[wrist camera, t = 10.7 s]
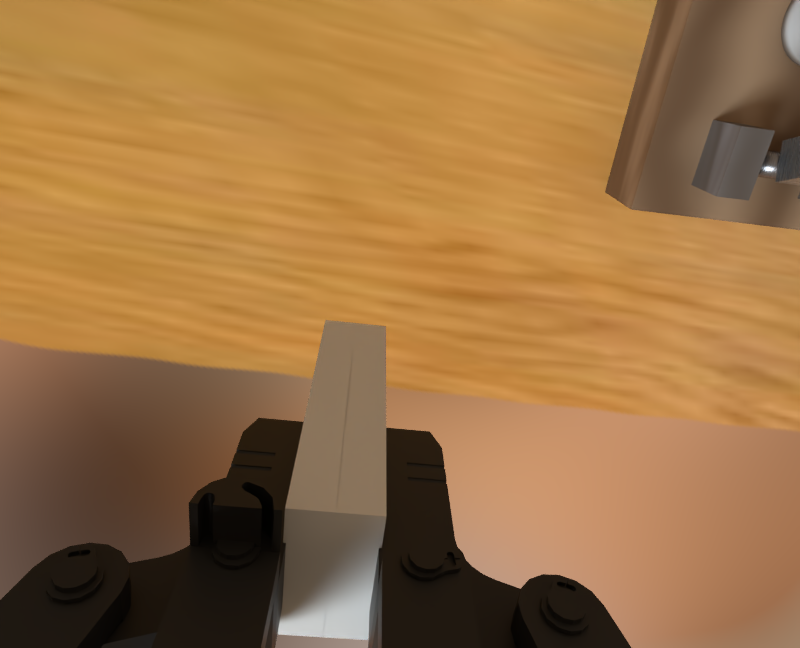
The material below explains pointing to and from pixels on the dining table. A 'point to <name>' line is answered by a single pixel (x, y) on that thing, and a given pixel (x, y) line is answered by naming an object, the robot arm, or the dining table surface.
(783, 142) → the lever
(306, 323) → the dining table surface
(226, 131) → the dining table surface
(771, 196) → the base
